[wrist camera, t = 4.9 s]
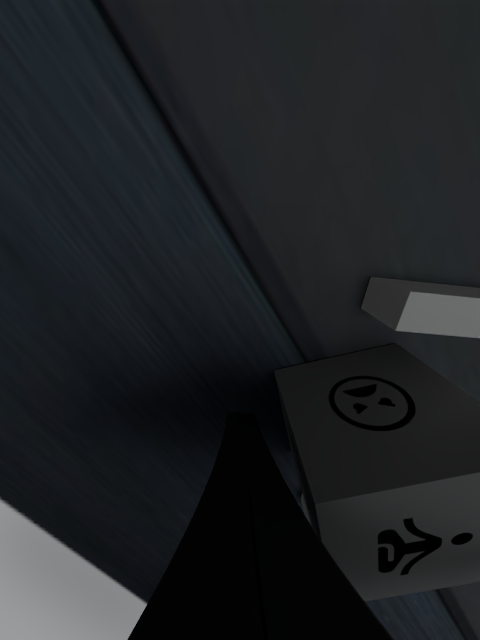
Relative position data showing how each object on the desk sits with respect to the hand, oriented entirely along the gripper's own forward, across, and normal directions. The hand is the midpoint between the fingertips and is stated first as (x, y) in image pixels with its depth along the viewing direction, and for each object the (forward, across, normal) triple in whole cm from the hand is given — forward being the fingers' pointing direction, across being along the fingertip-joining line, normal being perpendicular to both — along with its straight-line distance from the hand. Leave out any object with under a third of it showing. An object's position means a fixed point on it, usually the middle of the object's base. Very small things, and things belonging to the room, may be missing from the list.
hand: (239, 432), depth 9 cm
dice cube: (+2, -4, 0) cm, 5 cm away
